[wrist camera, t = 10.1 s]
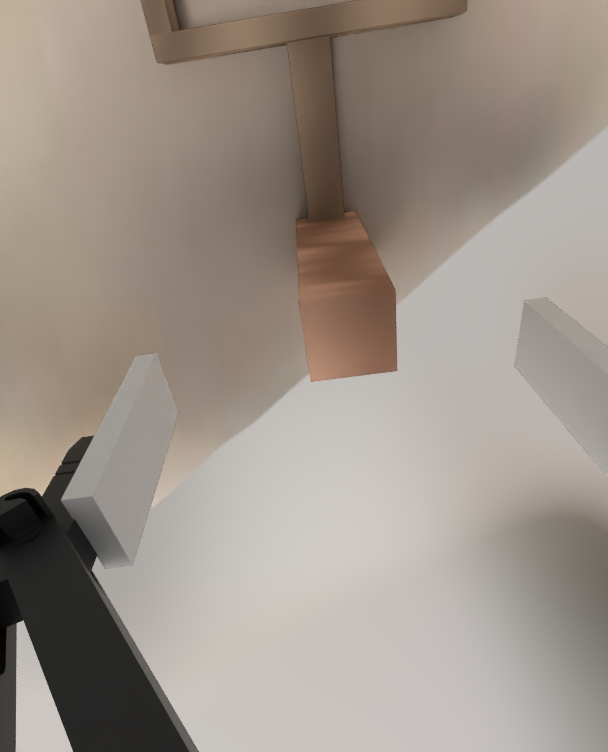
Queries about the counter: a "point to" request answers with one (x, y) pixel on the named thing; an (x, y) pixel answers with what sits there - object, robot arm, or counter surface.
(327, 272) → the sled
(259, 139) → the counter surface
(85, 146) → the counter surface
